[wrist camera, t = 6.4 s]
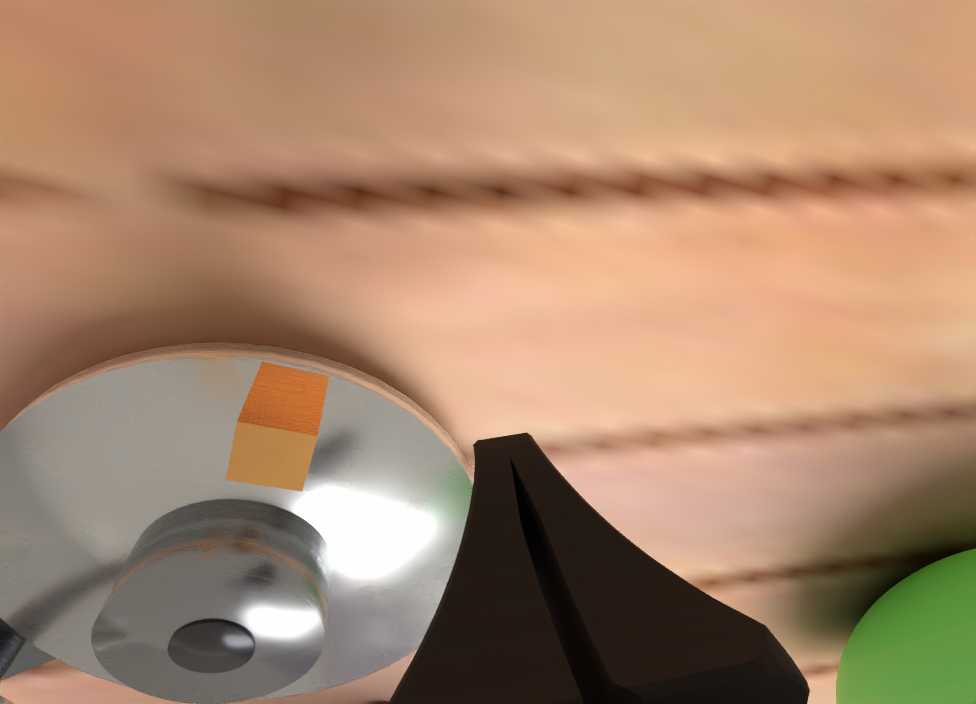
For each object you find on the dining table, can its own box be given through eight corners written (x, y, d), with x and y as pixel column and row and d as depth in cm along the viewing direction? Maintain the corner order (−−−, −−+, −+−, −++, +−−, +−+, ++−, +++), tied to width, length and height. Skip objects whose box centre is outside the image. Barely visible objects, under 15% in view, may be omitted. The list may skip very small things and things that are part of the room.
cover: (290, 639, 22) (276, 721, 20) (108, 603, 20) (62, 692, 17) (363, 531, 20) (359, 608, 17) (167, 474, 17) (125, 553, 15)
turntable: (371, 698, 27) (367, 793, 24) (-54, 636, 21) (-145, 755, 17) (564, 448, 21) (598, 528, 17) (35, 243, 14) (-81, 305, 11)
